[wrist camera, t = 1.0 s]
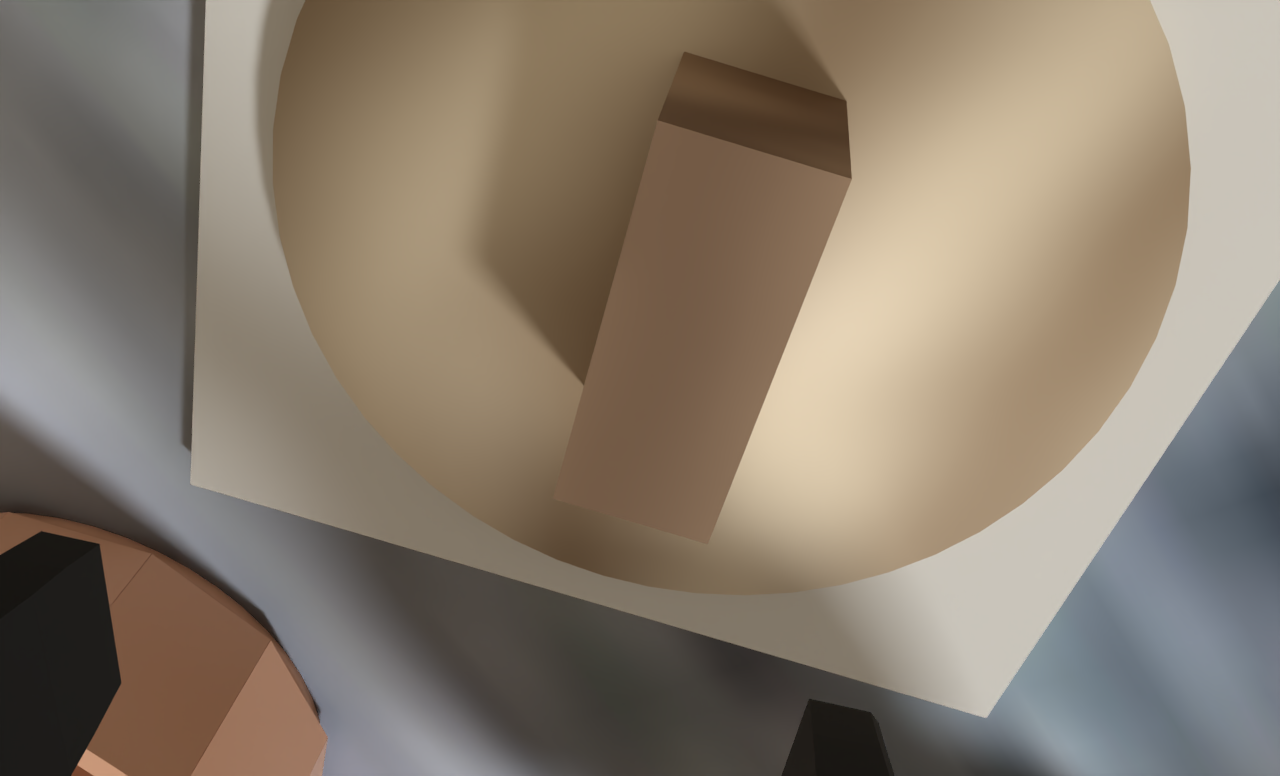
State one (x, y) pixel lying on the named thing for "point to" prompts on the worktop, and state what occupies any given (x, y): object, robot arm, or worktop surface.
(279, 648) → the bowl
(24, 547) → the robot arm
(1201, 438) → the worktop surface
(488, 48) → the lid
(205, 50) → the mat
